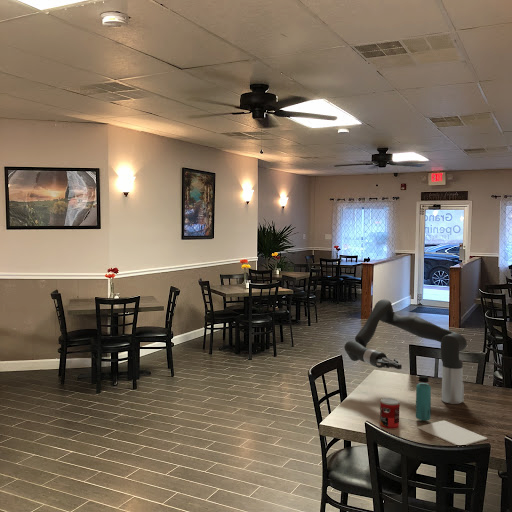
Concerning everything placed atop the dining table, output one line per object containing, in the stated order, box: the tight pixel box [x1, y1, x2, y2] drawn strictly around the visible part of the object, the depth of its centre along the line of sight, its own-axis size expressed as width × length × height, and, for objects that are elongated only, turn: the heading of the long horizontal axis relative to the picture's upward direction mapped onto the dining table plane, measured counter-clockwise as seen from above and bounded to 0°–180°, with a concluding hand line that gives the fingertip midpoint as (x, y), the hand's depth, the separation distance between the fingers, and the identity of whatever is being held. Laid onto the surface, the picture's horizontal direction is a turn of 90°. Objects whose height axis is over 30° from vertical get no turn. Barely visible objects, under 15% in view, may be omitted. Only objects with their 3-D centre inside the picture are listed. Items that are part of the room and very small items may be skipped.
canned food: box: [379, 397, 401, 430], centre depth 227 cm, size 8×8×11 cm
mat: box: [416, 420, 488, 446], centre depth 219 cm, size 22×16×1 cm
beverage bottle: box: [414, 375, 432, 421], centre depth 232 cm, size 6×7×20 cm
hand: (400, 367), depth 243 cm, fingers closed
